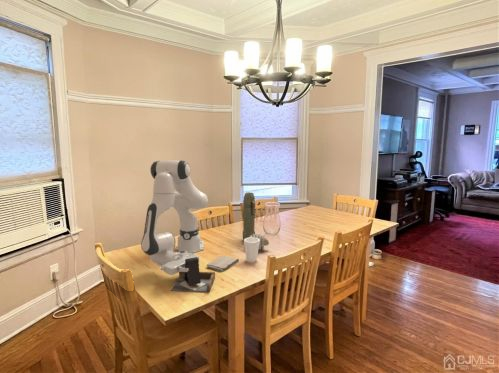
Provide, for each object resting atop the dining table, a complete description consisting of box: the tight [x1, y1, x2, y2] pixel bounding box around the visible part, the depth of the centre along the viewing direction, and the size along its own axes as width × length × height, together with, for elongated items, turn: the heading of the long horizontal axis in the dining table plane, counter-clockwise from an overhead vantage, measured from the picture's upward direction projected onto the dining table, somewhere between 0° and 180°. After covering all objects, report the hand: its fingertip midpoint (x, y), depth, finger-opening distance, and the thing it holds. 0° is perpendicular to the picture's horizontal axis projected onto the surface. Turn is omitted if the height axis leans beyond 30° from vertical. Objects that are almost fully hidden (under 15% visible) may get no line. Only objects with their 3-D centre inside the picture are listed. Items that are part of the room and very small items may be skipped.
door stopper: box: [184, 257, 201, 286], centre depth 159 cm, size 9×6×12 cm, turn 27°
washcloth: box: [206, 255, 240, 273], centre depth 186 cm, size 12×18×3 cm, turn 152°
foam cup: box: [243, 237, 260, 263], centre depth 192 cm, size 10×9×13 cm
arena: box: [170, 271, 216, 294], centre depth 161 cm, size 15×19×4 cm
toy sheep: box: [242, 233, 270, 252], centre depth 208 cm, size 11×17×11 cm, turn 95°
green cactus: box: [242, 192, 256, 242], centre depth 224 cm, size 9×12×35 cm
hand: (193, 267), depth 158 cm, fingers closed on door stopper, 6 cm apart
